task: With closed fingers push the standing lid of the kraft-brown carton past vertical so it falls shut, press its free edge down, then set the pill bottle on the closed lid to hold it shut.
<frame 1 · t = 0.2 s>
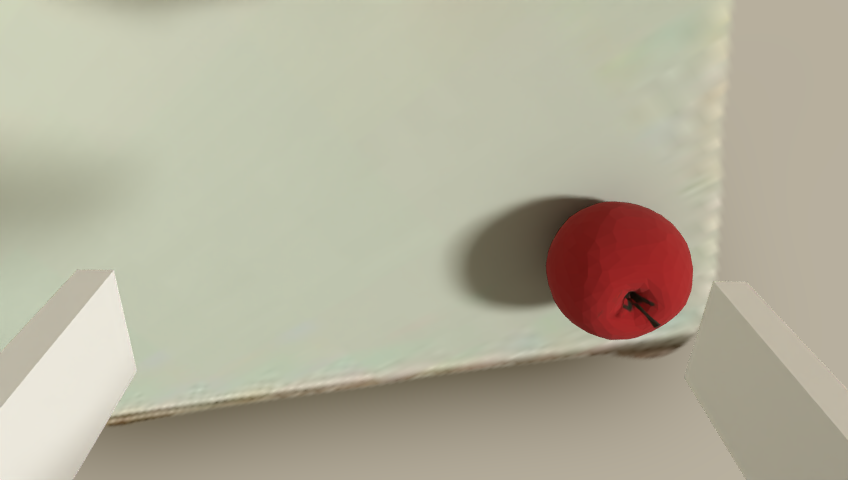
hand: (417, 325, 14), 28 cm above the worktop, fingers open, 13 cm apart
apple: (598, 238, 45), on the worktop
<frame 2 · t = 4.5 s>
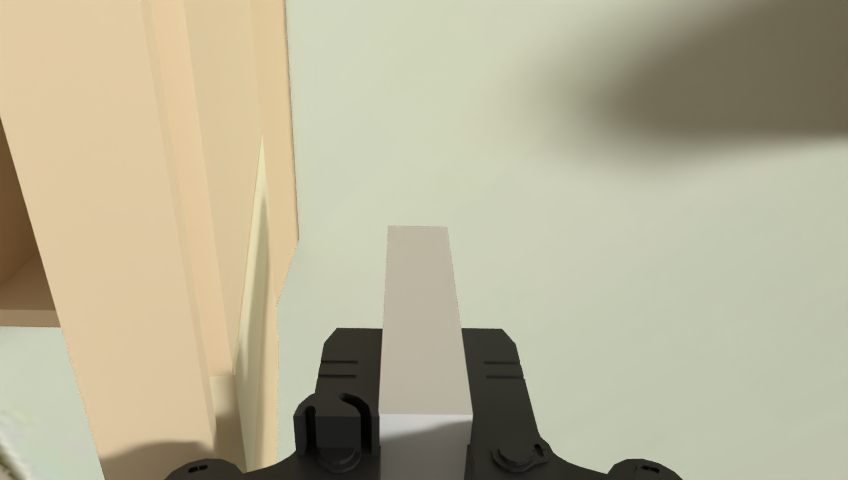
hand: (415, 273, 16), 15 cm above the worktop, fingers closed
carton: (159, 100, 28), on the worktop
lid: (217, 273, 15), point 15 cm above the worktop, hinge at 99.6°, touching gripper
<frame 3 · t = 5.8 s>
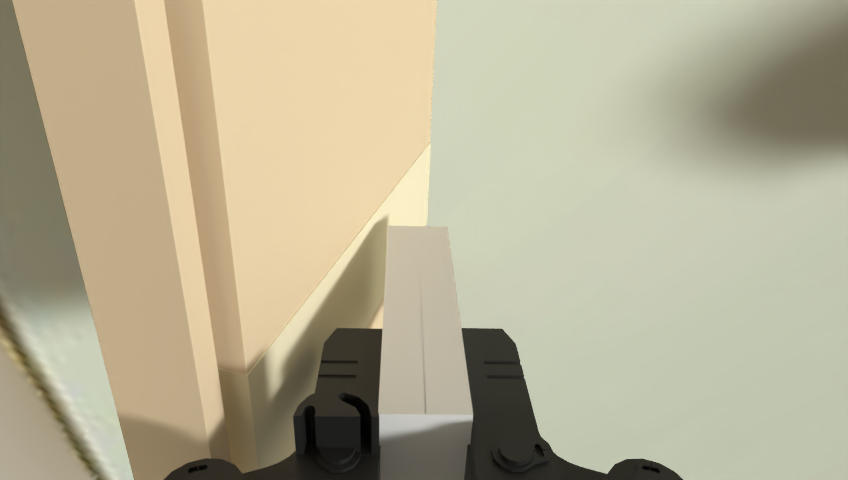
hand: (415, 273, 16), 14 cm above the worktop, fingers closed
lid: (330, 271, 16), point 15 cm above the worktop, hinge at 73.9°, touching gripper
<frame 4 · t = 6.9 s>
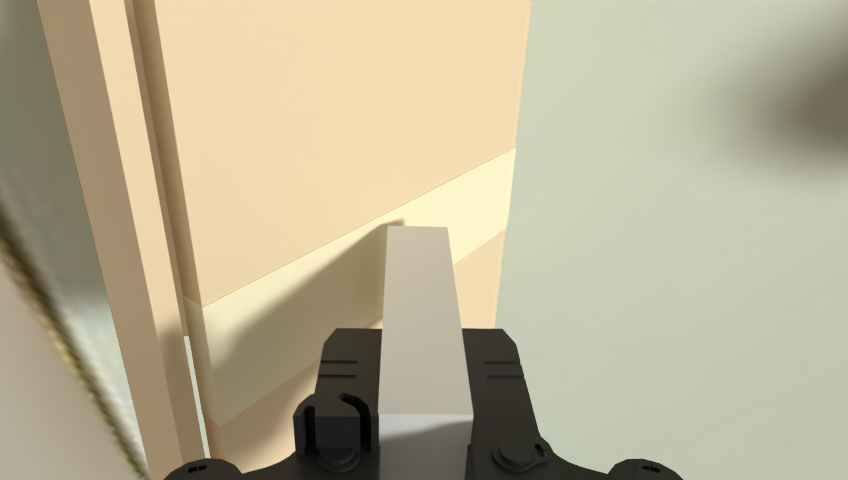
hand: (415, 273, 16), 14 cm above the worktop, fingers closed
carton: (344, 111, 28), on the worktop
lid: (365, 249, 17), point 13 cm above the worktop, hinge at 52.2°
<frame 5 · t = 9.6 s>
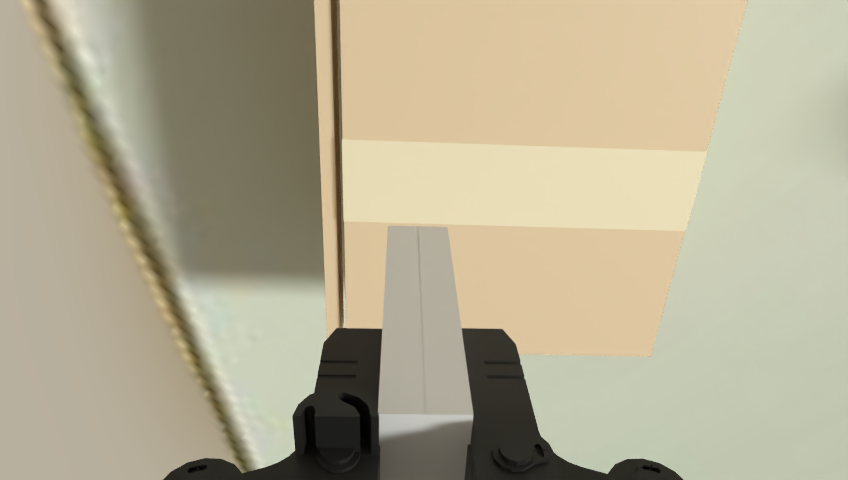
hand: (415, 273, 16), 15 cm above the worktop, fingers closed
lid: (506, 176, 22), point 8 cm above the worktop, hinge at -0.2°
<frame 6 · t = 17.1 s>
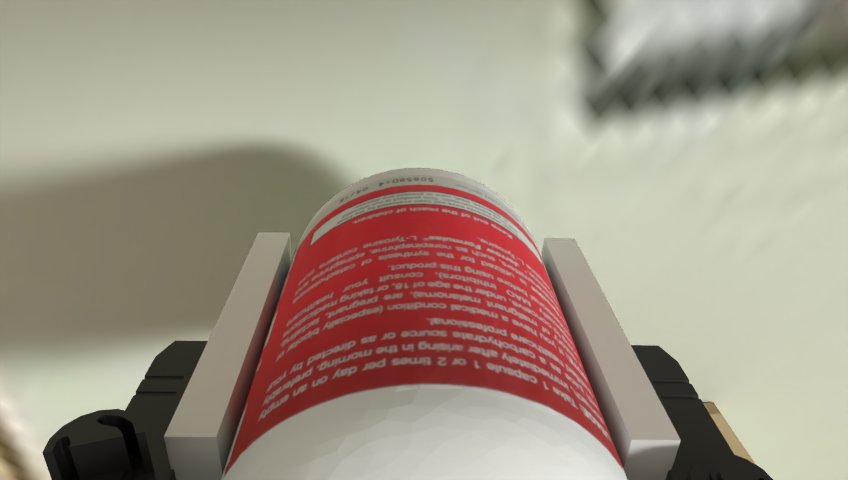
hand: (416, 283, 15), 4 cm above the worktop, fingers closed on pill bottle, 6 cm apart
pill bottle: (417, 269, 16), point 3 cm above the worktop, touching gripper
when the fingers open (10 cm above the worktop, at t = 20.4 s): pill bottle drops 1 cm, resting on lid.
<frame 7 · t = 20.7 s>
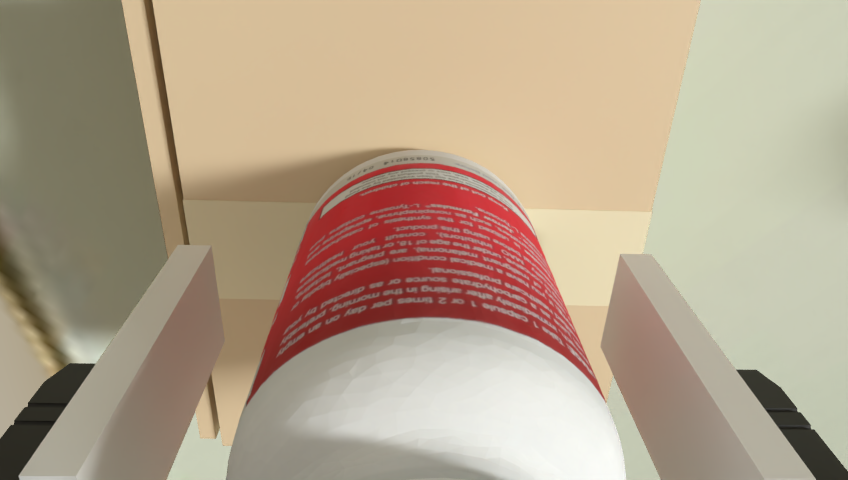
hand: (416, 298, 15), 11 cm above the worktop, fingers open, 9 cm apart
lid: (404, 239, 17), point 8 cm above the worktop, hinge at -0.3°, touching pill bottle
pill bottle: (419, 249, 17), point 9 cm above the worktop, touching lid
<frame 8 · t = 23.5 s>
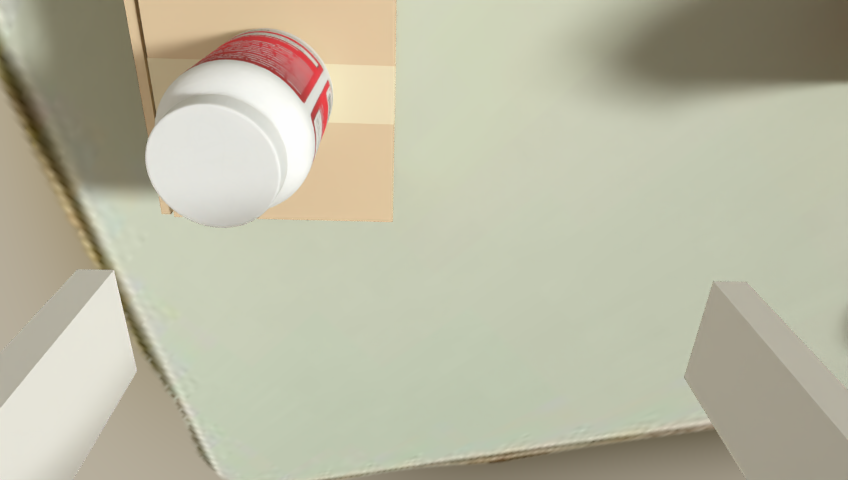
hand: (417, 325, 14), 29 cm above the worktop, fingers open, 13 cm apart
lid: (270, 87, 32), point 8 cm above the worktop, hinge at -0.3°, touching pill bottle
pill bottle: (275, 88, 31), point 9 cm above the worktop, touching lid
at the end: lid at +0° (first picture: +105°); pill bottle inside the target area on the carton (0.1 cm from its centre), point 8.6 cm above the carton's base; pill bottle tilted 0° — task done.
